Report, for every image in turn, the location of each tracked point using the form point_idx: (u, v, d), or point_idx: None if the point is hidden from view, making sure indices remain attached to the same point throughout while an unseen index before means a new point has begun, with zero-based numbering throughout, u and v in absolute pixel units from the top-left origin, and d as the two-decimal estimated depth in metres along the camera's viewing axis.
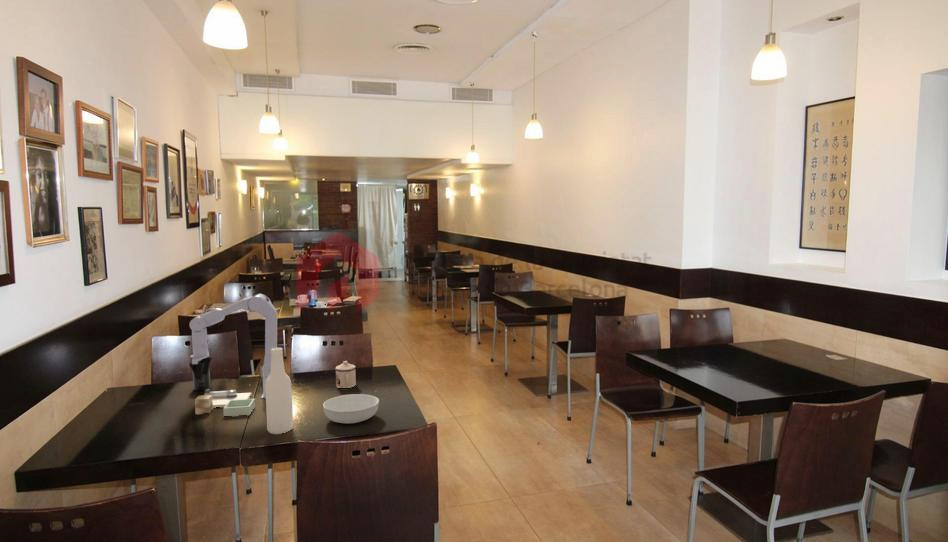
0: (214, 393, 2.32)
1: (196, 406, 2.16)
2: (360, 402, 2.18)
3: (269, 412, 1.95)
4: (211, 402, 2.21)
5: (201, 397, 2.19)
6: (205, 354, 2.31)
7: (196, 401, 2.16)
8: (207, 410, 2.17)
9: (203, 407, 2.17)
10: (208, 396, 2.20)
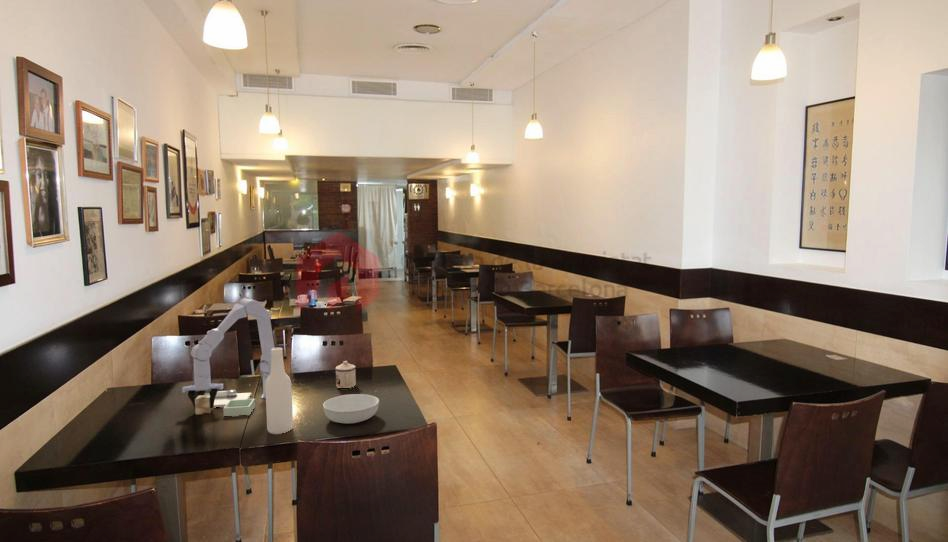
0: None
1: (196, 406, 2.16)
2: (360, 402, 2.18)
3: (269, 412, 1.95)
4: None
5: (201, 397, 2.19)
6: (197, 386, 2.16)
7: (196, 401, 2.16)
8: (207, 410, 2.17)
9: (203, 407, 2.17)
10: (208, 396, 2.20)
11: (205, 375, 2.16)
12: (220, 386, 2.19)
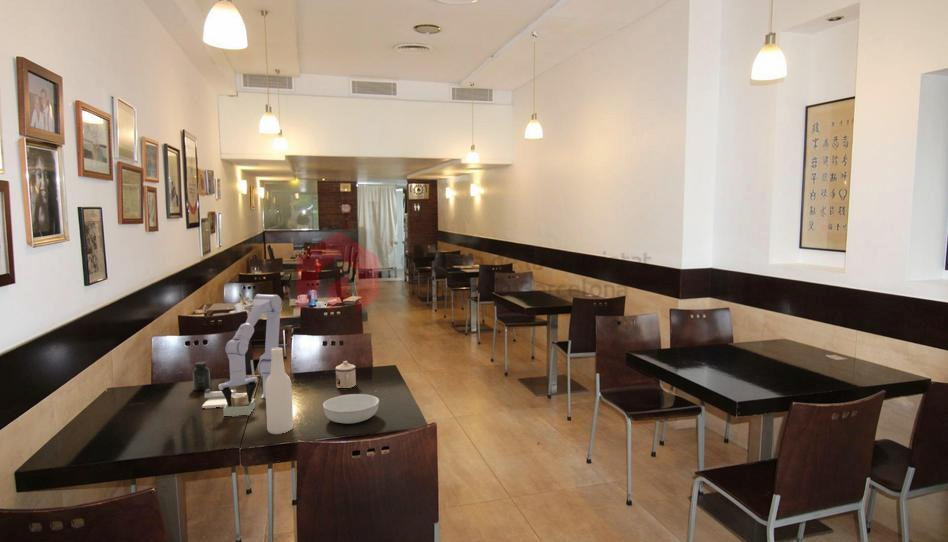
0: (214, 393, 2.32)
1: (236, 405, 2.16)
2: (360, 402, 2.18)
3: (269, 412, 1.95)
4: None
5: (237, 396, 2.18)
6: (236, 381, 2.15)
7: (236, 400, 2.15)
8: None
9: (243, 405, 2.17)
10: (242, 394, 2.20)
11: (244, 369, 2.17)
12: (255, 379, 2.22)
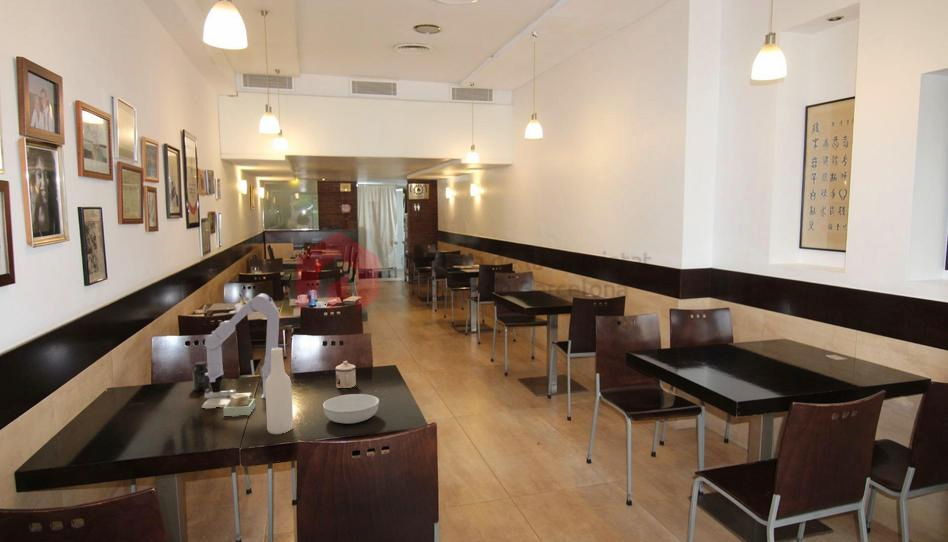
0: (214, 393, 2.32)
1: (236, 405, 2.16)
2: (360, 402, 2.18)
3: (269, 412, 1.95)
4: None
5: (237, 396, 2.18)
6: (220, 371, 2.33)
7: (236, 400, 2.15)
8: None
9: (243, 405, 2.17)
10: (242, 394, 2.20)
11: (213, 363, 2.30)
12: None
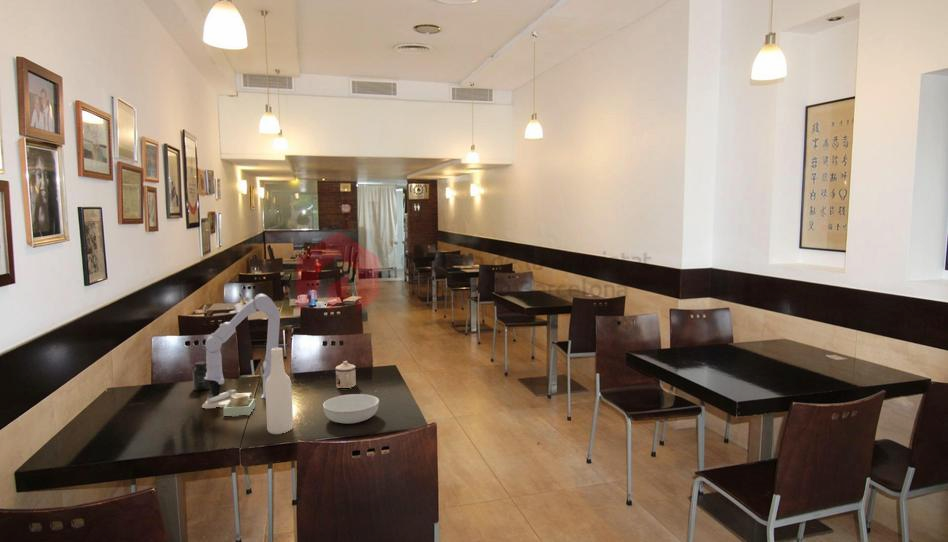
0: (218, 396, 2.28)
1: (236, 405, 2.16)
2: (360, 402, 2.18)
3: (269, 412, 1.95)
4: None
5: (237, 396, 2.18)
6: None
7: (236, 400, 2.15)
8: None
9: (243, 405, 2.17)
10: (242, 394, 2.20)
11: (214, 366, 2.26)
12: None
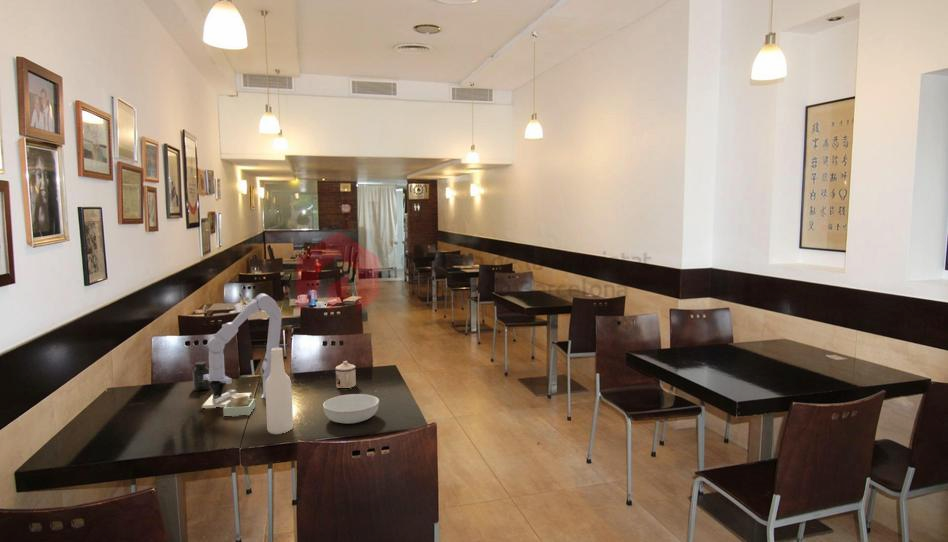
0: (222, 396, 2.27)
1: (236, 405, 2.16)
2: (360, 402, 2.18)
3: (269, 412, 1.95)
4: None
5: (237, 396, 2.18)
6: (224, 374, 2.29)
7: (236, 400, 2.15)
8: None
9: (243, 405, 2.17)
10: (242, 394, 2.20)
11: (218, 367, 2.25)
12: None
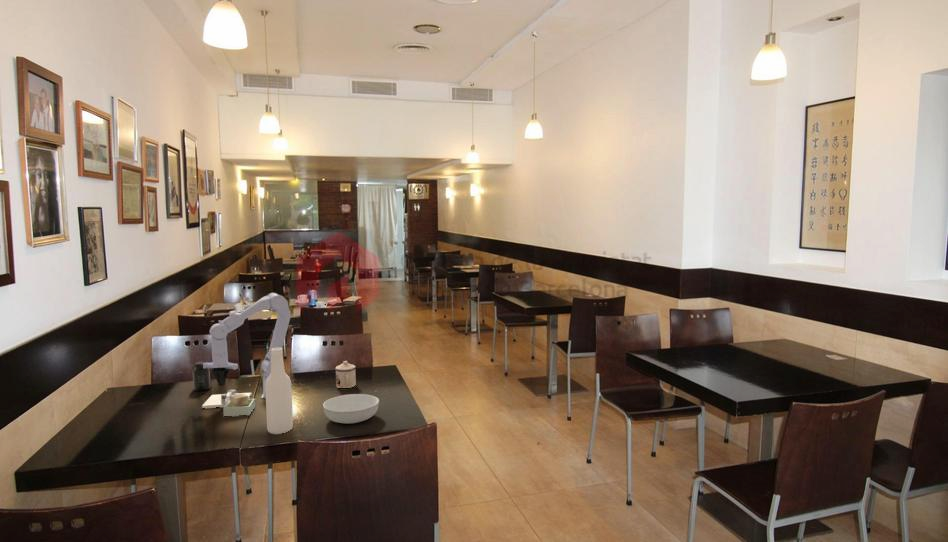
0: (228, 396, 2.28)
1: (236, 405, 2.16)
2: (360, 402, 2.18)
3: (269, 412, 1.95)
4: None
5: (237, 396, 2.18)
6: None
7: (236, 400, 2.15)
8: None
9: (243, 405, 2.17)
10: (242, 394, 2.20)
11: (221, 353, 2.24)
12: None
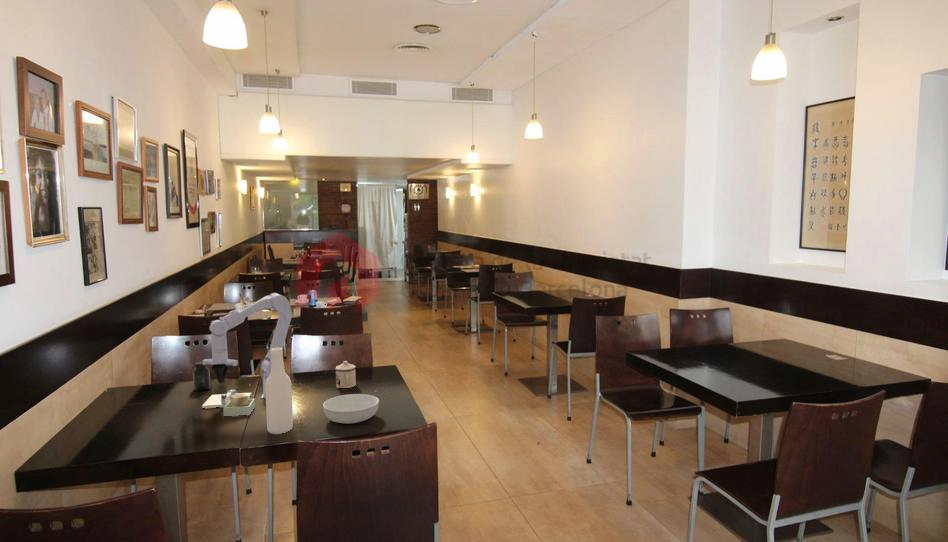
0: (228, 396, 2.28)
1: (236, 405, 2.16)
2: (360, 402, 2.18)
3: (269, 412, 1.95)
4: None
5: (237, 396, 2.18)
6: None
7: (236, 400, 2.15)
8: None
9: (243, 405, 2.17)
10: (242, 394, 2.20)
11: (221, 350, 2.24)
12: None
